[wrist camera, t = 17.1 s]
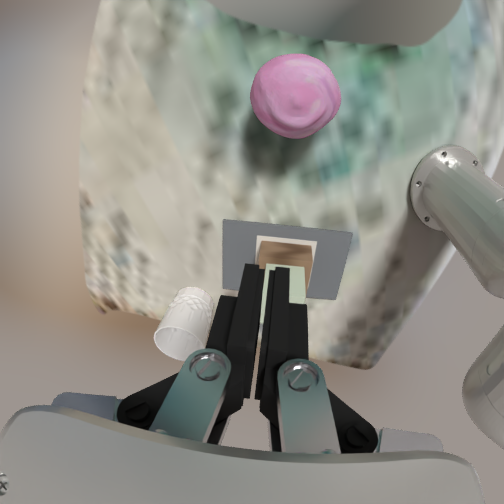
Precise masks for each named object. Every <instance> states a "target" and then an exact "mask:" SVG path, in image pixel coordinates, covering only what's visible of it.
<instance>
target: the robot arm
mask: <svg viewBox="0 0 504 504" xmlns="http://www.w3.org/2000/svg"><path fill="white" fill-rule="evenodd" d="M442 152H443V153H442ZM417 182H418V183H417ZM410 195H411V202H412V206H413V208H414V211H415V213H416V214H417V216H418V217H419V219H420V220H421V221H422V222H423V223H424V224H425V225H427V226H428V227H430V228H432V229H434V230H438V231H443V232H444V233H445V234H446V236H447V237H448V238H449V240H450V241H451V242H452V244H453V245H454V246H455V248H456V249H457V250H458V252H459V253H460V255H461V256H462V257H463V259H464V260H465V262H466V263H467V264H468V266H469V267H470V269H471V270H472V272H473V273H474V275H475V276H476V277H477V279H478V281H479V282H480V283H481V285H482V286H483V287H484V288H485V289H486V290H487V291H488V292H489V293H491V294H492V295H494V296H496V297H499V298H503V299H504V188H503V187H502V186H500V185H499V184H498V183H496V182H495V181H494V180H492V179H491V178H490V177H488V176H487V175H485V172H484V169H483V166H482V165H481V163H480V161H479V160H478V158H477V157H476V156H475V155H474V154H473V153H471V152H470V151H468V150H467V149H465V148H463V147H459V146H455V145H447V146H442V147H439V148H437V149H434V150H433V151H431V152H430V153H429V154H427V155H426V156H425V157H424V158H423V159H422V161H421V162H420V163H419V165H418V166H417V168H416V170H415V172H414V175H413V178H412V182H411V189H410ZM259 267H260V265H257V264H247V263H245V266H244V270H243V275H242V279H241V284H240V288H239V293H238V297H232V296H224V295H221V296H220V299H219V302H218V306H217V309H216V313H215V316H214V320H213V323H212V327H211V330H210V334H209V337H208V341H207V344H206V348H205V349H200V350H197V351H195V352H193V353H192V354H190V355H189V356H188V358H187V359H186V360H185V362H184V364H183V366H182V368H181V370H180V372H179V373H176V374H174V375H172V376H170V377H168V378H166V379H164V380H162V381H160V382H158V383H156V384H154V385H151V386H150V387H147V388H145V389H143V390H141V391H139V392H136V393H134V394H132V395H130V396H128V397H127V398H125V399H117V398H116V396H103V395H92V394H81V393H71V392H65V393H62V394H60V395H58V396H57V397H56V398H55V399H54V400H53V403H52V405H36V406H30V407H25V408H23V409H20V410H19V411H17V412H16V413H15V414H14V415H13V416H12V417H11V418H10V419H9V420H8V422H7V423H6V425H5V426H4V428H3V429H2V431H1V433H0V504H485V501H484V495H483V491H482V487H481V484H480V480H479V477H478V475H477V472H476V470H475V469H474V467H473V466H472V465H471V463H469V462H468V461H467V460H465V459H463V458H461V457H458V456H456V455H453V454H449V453H445V452H443V446H442V443H441V441H440V440H439V439H438V438H437V437H436V436H434V435H431V434H425V433H417V432H409V431H403V430H396V429H390V428H384V427H383V428H382V429H375V428H374V427H373V426H372V425H371V424H370V423H369V422H367V421H366V420H365V419H364V418H362V417H361V416H360V415H359V414H357V413H356V412H355V411H354V410H353V409H351V408H350V407H349V406H348V405H346V404H345V403H344V402H343V401H341V400H340V399H339V398H338V397H337V396H336V395H334V394H333V393H332V392H331V391H330V390H328V389H327V386H326V382H325V377H324V374H323V372H322V370H321V368H319V366H318V365H317V364H315V363H314V362H312V361H309V358H308V318H307V305H306V304H298V303H289V290H290V268H286V267H275V270H269V278H268V287H267V296H266V305H265V314H264V322H263V331H262V339H261V348H260V356H259V365H258V374H257V383H256V391H255V399H257V400H260V412H261V413H262V414H263V415H264V416H265V417H266V418H267V419H268V434H269V447H270V451H261V450H251V449H243V448H235V447H227V446H221V443H222V440H223V437H224V435H225V432H226V429H227V427H228V424H229V421H230V418H231V415H232V414H233V413H235V412H237V411H238V410H240V409H241V406H243V400H244V398H250V392H251V385H252V378H253V370H254V363H255V355H256V348H257V340H258V333H259V325H260V315H261V305H262V294H263V284H264V273H265V269H259ZM462 397H463V402H464V406H465V408H466V411H467V412H468V415H469V416H470V418H471V420H472V421H473V422H474V424H475V425H476V426H477V427H478V428H479V429H480V430H481V431H482V432H483V433H484V434H485V435H486V436H487V437H488V438H490V439H491V440H492V441H493V442H495V443H496V444H497V445H499V446H500V447H501V448H502V449H504V325H503V326H502V328H501V329H500V330H499V332H498V333H497V334H496V335H495V337H494V338H493V339H492V341H491V342H490V343H489V344H488V346H487V347H486V348H485V349H484V351H483V352H482V353H481V354H480V355H479V357H478V358H477V359H476V360H475V362H474V363H473V364H472V366H471V367H470V369H469V370H468V372H467V374H466V376H465V379H464V382H463V387H462Z"/></svg>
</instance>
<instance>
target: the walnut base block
mask: <svg viewBox="0 0 504 504" xmlns="http://www.w3.org/2000/svg"><path fill="white" fill-rule="evenodd" d="M266 263H268V264H278V265H288V266H299V267H304V270H305V293H306V294H307V289H308V284H309V279H310V274H311V269H312V264H313V257H312V247H311V245H301V244H291V243H282V242H272V241H261V247H260V254H259V264H258V265H260V267H259V269H265V270H266ZM264 278H265V273H264ZM263 286H264V284H263ZM305 299H306V298H305Z"/></svg>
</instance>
